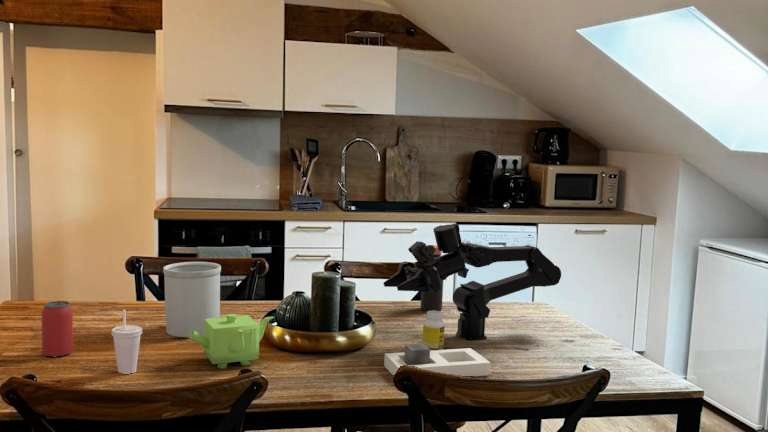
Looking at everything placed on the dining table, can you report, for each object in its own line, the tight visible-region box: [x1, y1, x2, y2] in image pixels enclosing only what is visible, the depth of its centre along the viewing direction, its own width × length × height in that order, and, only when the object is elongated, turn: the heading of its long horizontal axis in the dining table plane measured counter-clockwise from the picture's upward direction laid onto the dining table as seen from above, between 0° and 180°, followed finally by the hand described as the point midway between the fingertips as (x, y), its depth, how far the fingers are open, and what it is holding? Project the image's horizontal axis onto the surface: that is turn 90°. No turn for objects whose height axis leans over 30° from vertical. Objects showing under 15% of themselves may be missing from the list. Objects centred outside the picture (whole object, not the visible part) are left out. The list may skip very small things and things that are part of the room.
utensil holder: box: [162, 261, 222, 338], centre depth 185 cm, size 15×15×18 cm
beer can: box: [41, 300, 74, 357], centre depth 162 cm, size 7×7×12 cm
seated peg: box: [404, 343, 430, 365], centre depth 159 cm, size 4×4×6 cm
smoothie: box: [111, 308, 143, 375], centre depth 152 cm, size 6×6×14 cm
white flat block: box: [383, 347, 492, 377], centre depth 161 cm, size 22×11×3 cm, turn 108°
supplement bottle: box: [421, 310, 446, 351], centre depth 176 cm, size 5×5×10 cm
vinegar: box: [420, 244, 444, 312], centre depth 217 cm, size 7×7×20 cm
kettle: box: [188, 313, 275, 369], centre depth 161 cm, size 15×14×11 cm
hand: (390, 286), depth 178 cm, fingers open, 9 cm apart
